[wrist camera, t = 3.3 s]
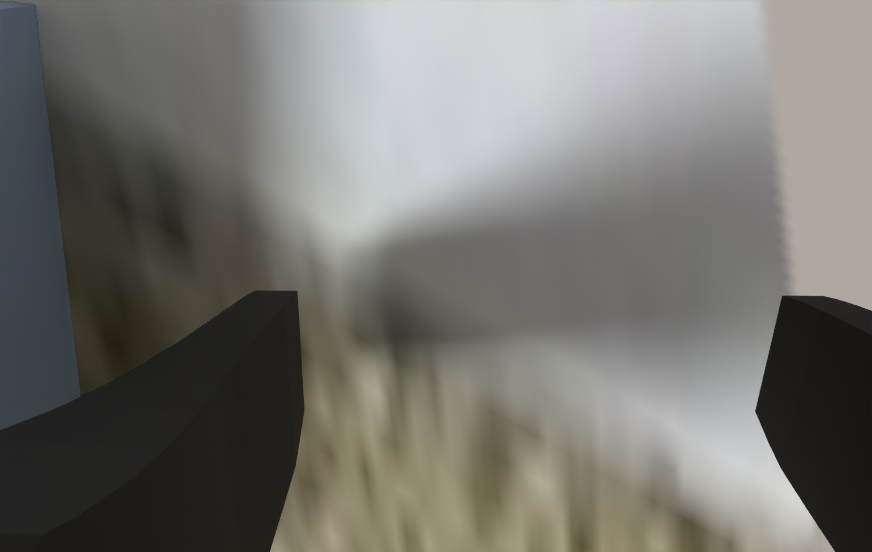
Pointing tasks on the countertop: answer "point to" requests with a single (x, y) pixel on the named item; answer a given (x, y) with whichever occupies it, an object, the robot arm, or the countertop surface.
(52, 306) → the blue-grey rectangular block
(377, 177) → the countertop surface
